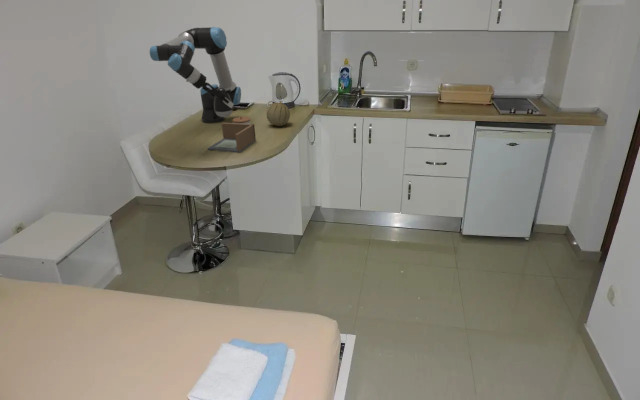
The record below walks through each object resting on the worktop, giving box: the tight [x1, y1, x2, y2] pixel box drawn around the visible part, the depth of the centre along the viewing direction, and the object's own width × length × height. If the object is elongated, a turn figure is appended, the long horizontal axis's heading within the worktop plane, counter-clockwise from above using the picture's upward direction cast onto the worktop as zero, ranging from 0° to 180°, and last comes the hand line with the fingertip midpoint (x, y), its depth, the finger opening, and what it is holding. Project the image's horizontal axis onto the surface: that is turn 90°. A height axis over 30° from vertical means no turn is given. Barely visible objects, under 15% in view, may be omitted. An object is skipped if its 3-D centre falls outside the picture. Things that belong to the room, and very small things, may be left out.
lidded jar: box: [232, 115, 251, 124], centre depth 276 cm, size 11×11×9 cm
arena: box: [206, 122, 257, 153], centre depth 251 cm, size 20×20×10 cm
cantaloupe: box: [266, 101, 291, 127], centre depth 283 cm, size 15×15×15 cm
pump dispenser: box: [214, 88, 234, 118], centre depth 242 cm, size 10×10×15 cm
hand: (228, 104), depth 244 cm, fingers closed on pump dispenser, 9 cm apart
